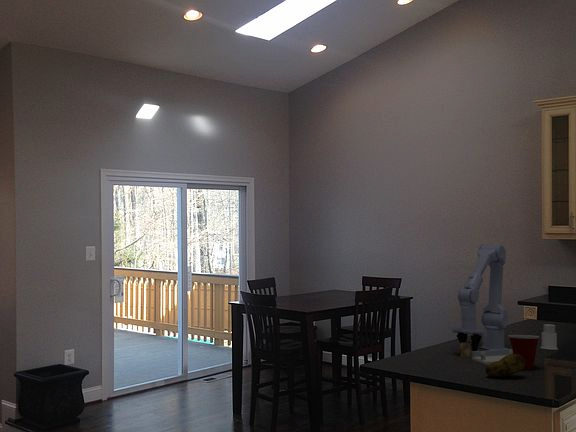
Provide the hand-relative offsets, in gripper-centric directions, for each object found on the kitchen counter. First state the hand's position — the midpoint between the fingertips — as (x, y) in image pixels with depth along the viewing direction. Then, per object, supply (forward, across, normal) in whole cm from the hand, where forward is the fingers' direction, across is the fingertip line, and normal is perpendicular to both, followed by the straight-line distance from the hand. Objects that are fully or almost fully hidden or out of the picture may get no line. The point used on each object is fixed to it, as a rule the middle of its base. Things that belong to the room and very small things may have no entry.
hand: (469, 352), depth 255 cm
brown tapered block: (+1, 0, 0) cm, 1 cm away
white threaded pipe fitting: (+2, +18, +35) cm, 39 cm away
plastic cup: (+2, +26, -8) cm, 27 cm away
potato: (+2, +27, -26) cm, 38 cm away
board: (+1, +13, -1) cm, 13 cm away
